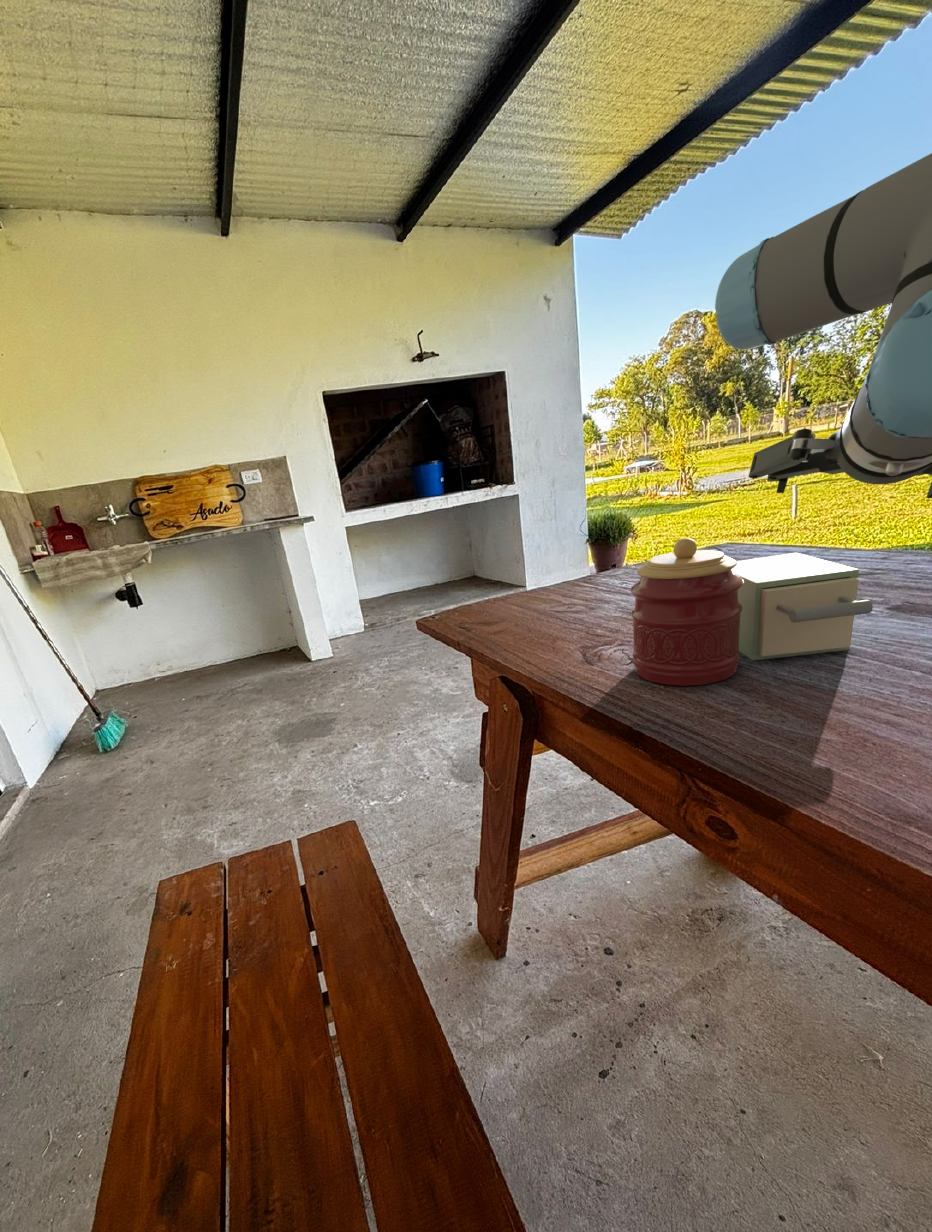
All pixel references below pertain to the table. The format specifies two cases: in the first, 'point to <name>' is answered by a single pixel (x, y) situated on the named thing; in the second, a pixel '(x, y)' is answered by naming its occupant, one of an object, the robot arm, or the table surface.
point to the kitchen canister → (687, 617)
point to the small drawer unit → (771, 575)
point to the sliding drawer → (809, 616)
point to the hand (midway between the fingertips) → (854, 483)
